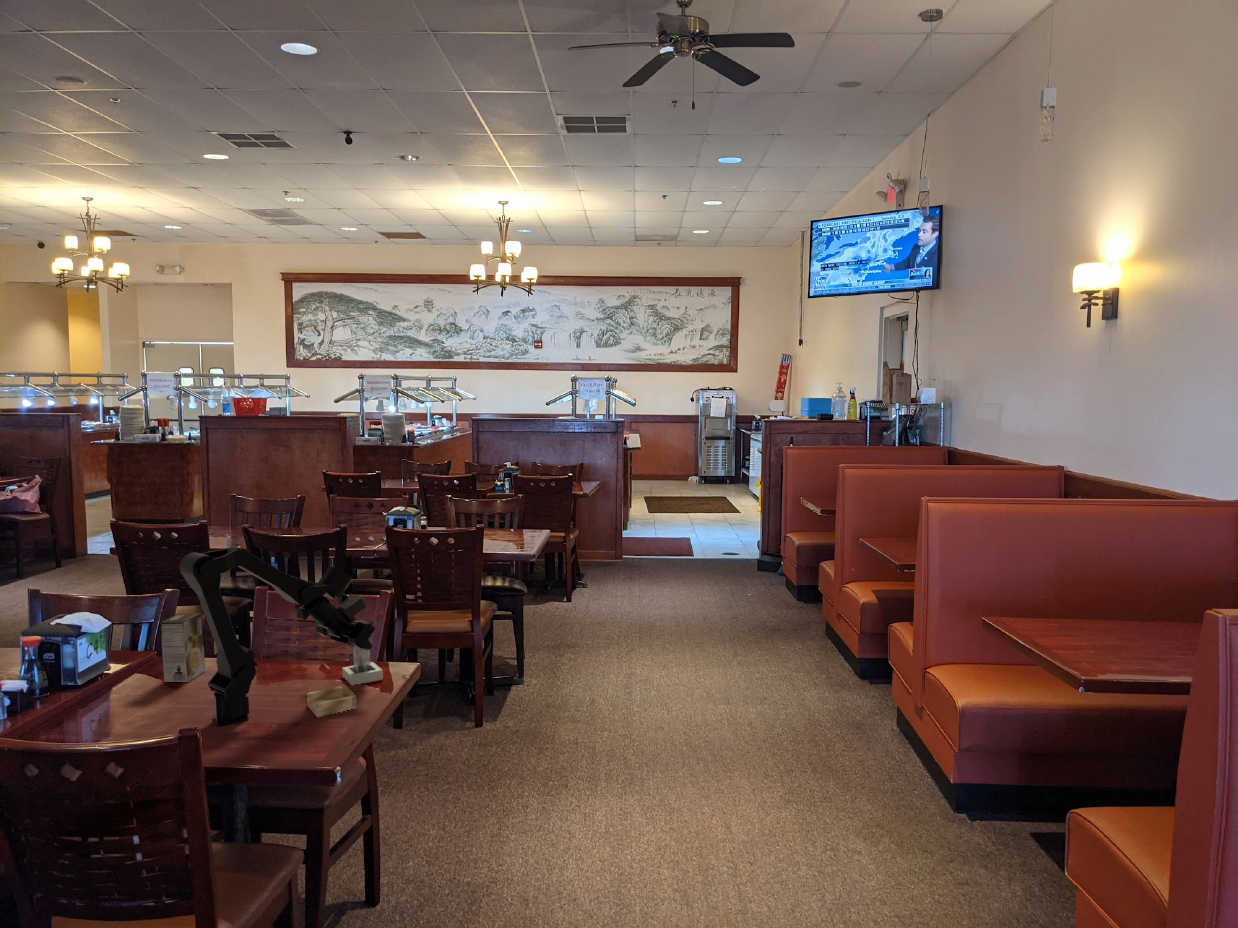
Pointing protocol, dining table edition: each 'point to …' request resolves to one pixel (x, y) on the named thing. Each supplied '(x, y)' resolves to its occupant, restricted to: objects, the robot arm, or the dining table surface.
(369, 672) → the socket block
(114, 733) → the dining table surface
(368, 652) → the silver and grey cylinder
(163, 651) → the coffee box
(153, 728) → the dining table surface
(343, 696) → the beige square tray
